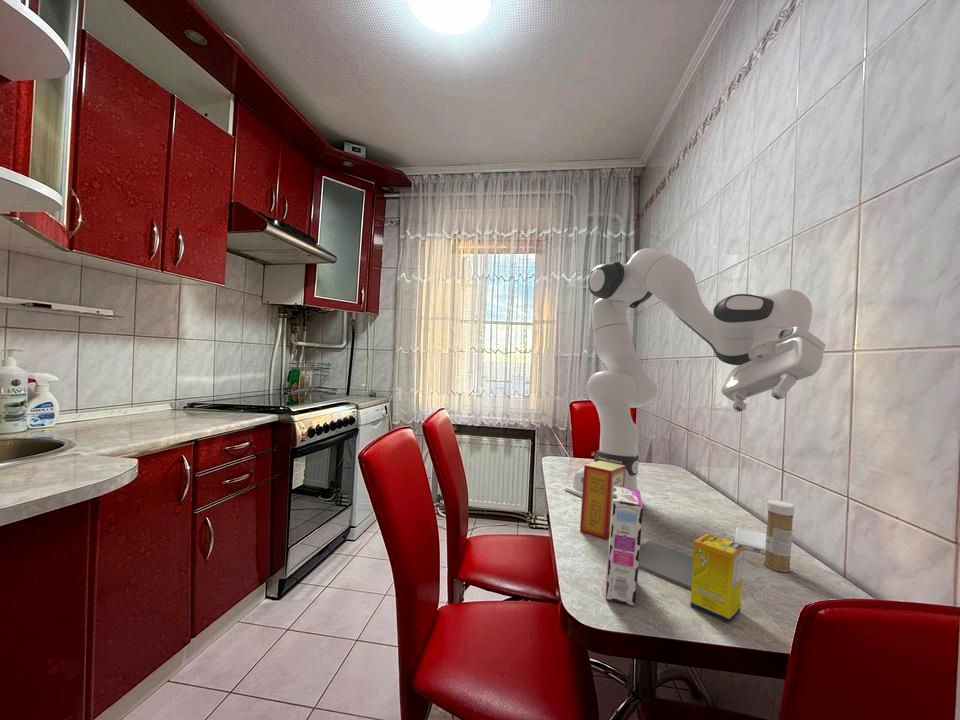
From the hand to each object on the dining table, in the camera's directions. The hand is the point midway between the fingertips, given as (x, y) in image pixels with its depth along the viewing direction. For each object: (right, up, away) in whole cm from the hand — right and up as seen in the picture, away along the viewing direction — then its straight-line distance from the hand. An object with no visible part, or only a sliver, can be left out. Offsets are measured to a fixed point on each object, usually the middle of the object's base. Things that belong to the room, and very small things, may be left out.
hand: (757, 403), depth 82 cm
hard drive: (+12, -36, +18) cm, 42 cm away
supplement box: (-15, -33, -13) cm, 38 cm away
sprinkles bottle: (+7, -35, +5) cm, 36 cm away
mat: (-16, -33, +3) cm, 37 cm away
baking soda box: (-25, -33, +19) cm, 45 cm away
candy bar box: (-29, -32, -8) cm, 44 cm away
